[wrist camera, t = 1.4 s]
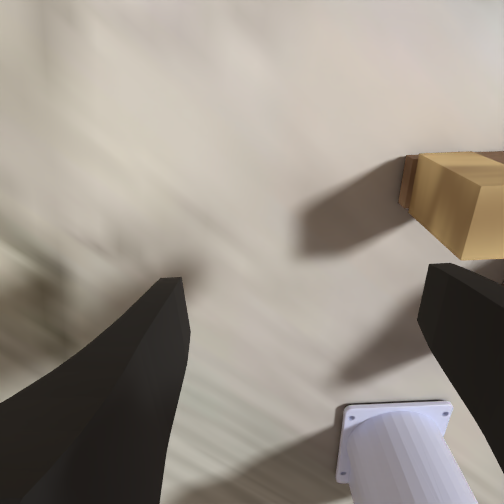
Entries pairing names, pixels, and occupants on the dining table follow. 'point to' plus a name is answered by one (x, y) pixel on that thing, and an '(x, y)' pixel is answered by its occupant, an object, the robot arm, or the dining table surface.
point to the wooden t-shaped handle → (458, 200)
